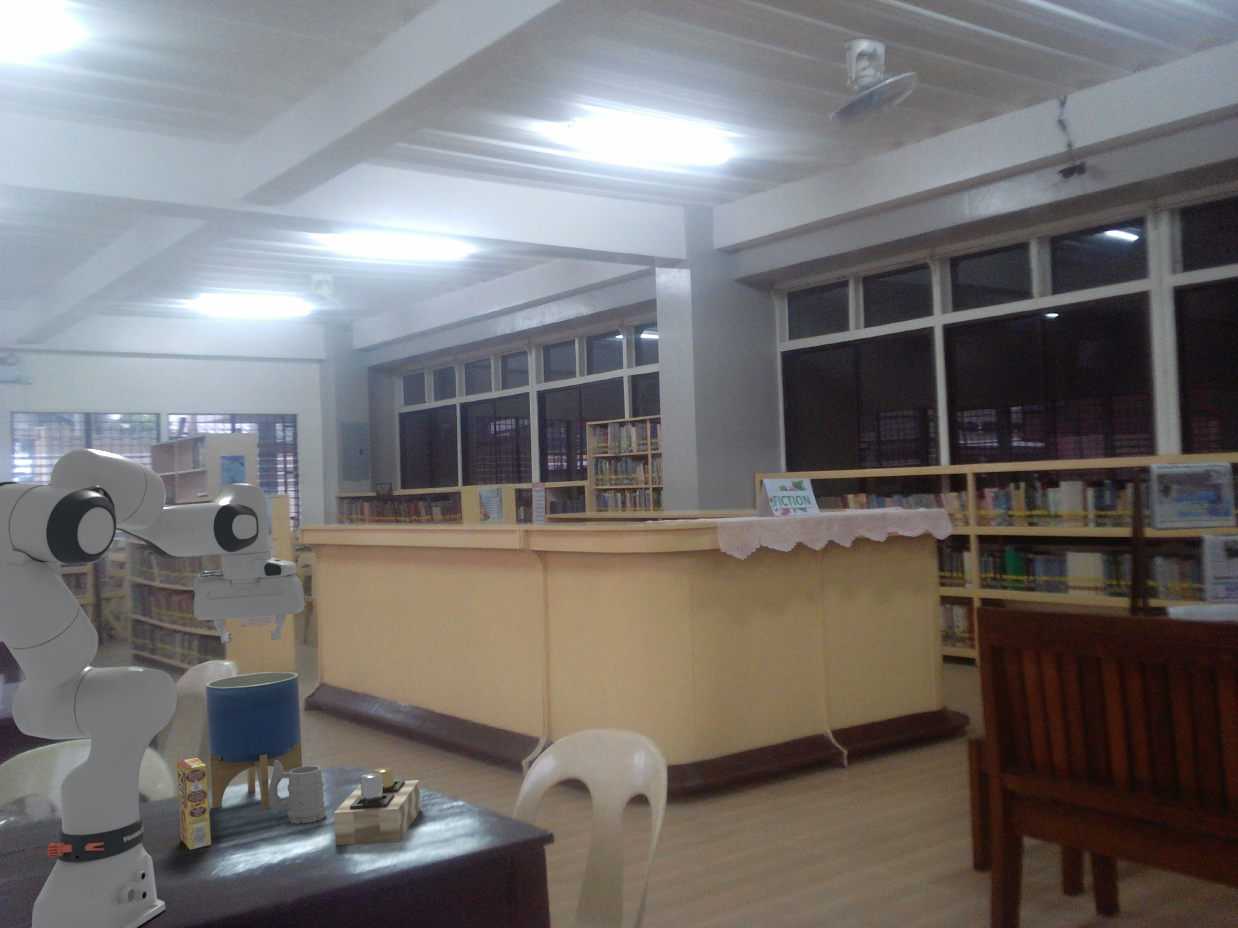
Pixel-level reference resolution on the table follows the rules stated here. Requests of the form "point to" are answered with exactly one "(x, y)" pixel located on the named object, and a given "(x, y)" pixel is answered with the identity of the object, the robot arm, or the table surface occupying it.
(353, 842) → the socket block
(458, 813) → the table surface
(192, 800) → the candy box
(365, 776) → the peg
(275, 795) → the mug
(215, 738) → the planter
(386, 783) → the peg
